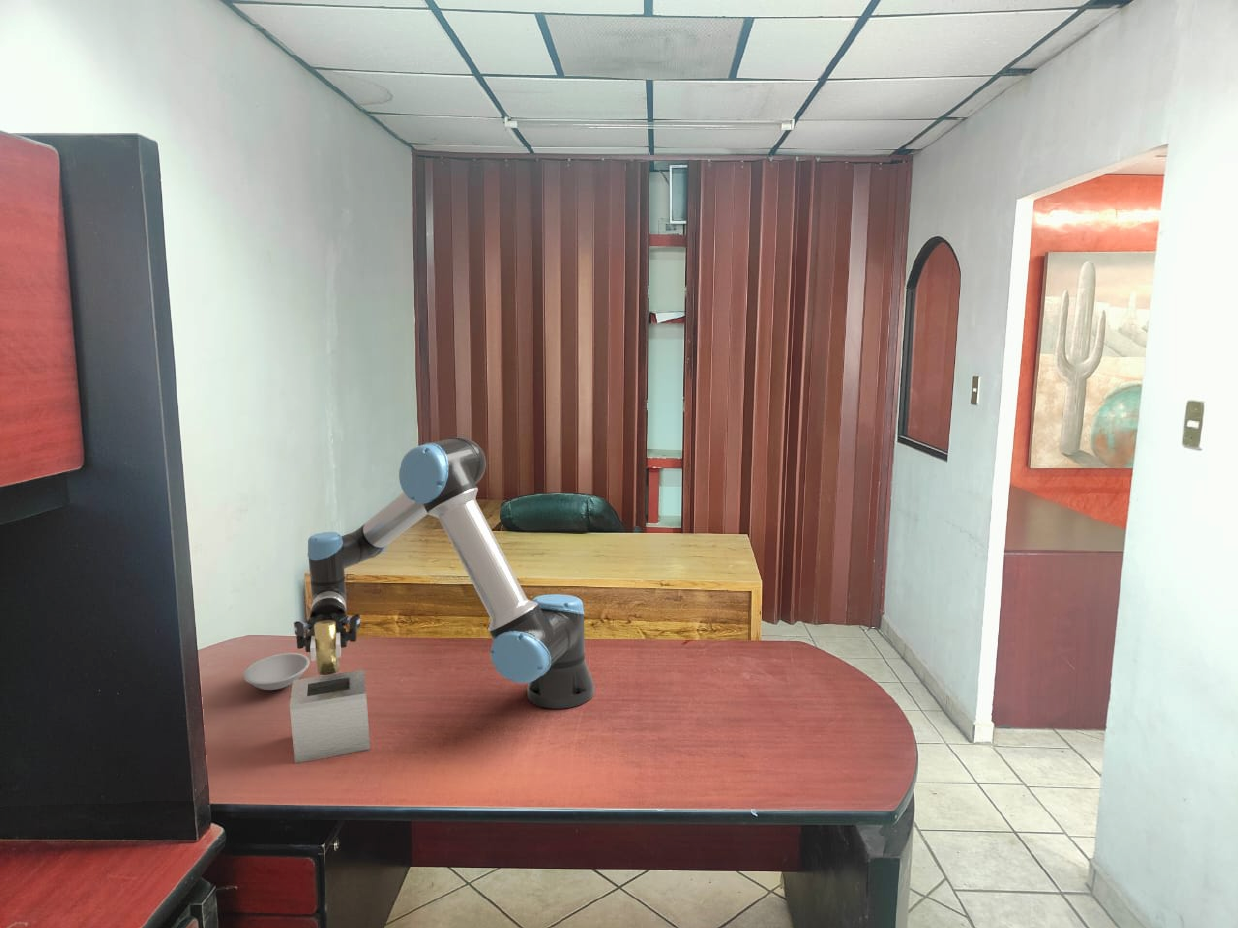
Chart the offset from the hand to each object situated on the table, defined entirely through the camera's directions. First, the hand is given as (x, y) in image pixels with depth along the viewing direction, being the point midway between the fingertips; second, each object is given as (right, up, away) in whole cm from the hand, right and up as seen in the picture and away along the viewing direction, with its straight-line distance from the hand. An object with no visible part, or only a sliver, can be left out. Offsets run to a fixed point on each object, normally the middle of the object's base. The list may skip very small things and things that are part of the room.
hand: (325, 652), depth 152 cm
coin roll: (-2, -5, +6) cm, 8 cm away
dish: (-24, -17, +34) cm, 45 cm away
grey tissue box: (-1, -20, +8) cm, 22 cm away
